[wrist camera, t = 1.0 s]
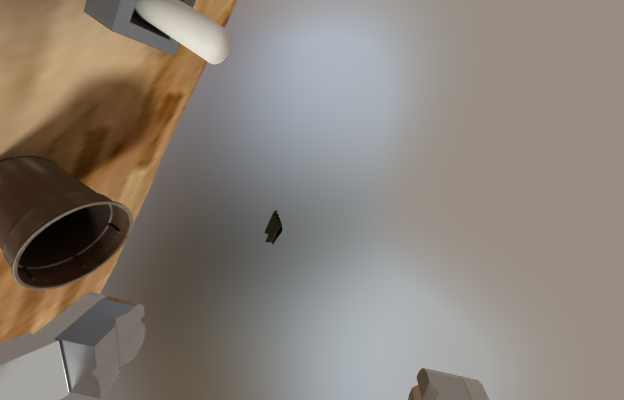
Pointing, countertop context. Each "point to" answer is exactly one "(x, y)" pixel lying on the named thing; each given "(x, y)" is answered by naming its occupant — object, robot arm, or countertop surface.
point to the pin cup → (131, 23)
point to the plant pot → (55, 224)
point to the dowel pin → (187, 27)
